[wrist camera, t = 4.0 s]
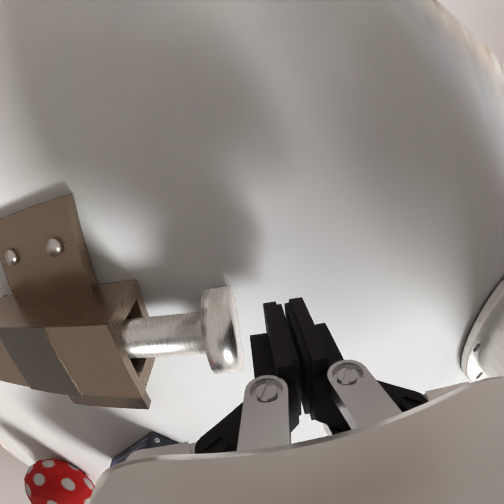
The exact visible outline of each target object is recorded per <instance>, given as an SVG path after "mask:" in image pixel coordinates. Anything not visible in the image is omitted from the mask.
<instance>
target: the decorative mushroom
mask: <svg viewBox="0 0 504 504" xmlns="http://www.w3.org/2000/svg"><path fill="white" fill-rule="evenodd" d="M24 480H25V490H26V494H27V496H28V498H29V500H30V501H31V503H32V504H89V501H90V498H91V495H92V492H93V489H94V487H95V486H94V484H93V483H92V481H91V480H90V479H89V478H88V477H87V476H86V475H85V474H84V473H83V472H82V471H81V470H80V469H78V468H76V467H75V466H73V465H71V464H69V463H68V462H65V461H60V460H56V459H46V460H39V461H37V462H36V463H35V464H33V465H32V466H30V467H29V469H28V471H27V473H26V476H25V479H24Z"/></svg>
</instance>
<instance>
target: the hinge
mask: <svg viewBox="0 0 504 504" xmlns="http://www.w3.org/2000/svg"><path fill="white" fill-rule="evenodd" d="M0 260H1V263H2V266H3V269H4V272H5V275H6V277H7V280H8V283H9V285H10V288H11V290H12V293H13V295H9V296H2V297H1V298H0V380H1V381H5V382H9V383H13V384H18V385H23V386H28V387H30V388H31V389H35V390H40V391H46V392H53V393H59V394H67V395H68V396H69V397H70V399H71V400H72V401H73V403H76V404H84V405H92V406H102V407H115V408H132V409H149V407H150V403H151V400H150V399H149V397H148V395H147V393H146V391H145V389H146V386H147V382H148V379H149V376H150V373H151V370H152V366H153V363H154V360H155V357H147V358H129V356H128V354H127V352H126V350H125V348H124V346H123V343H122V341H121V339H120V337H119V334H118V331H119V330H120V328H121V326H122V324H123V322H124V321H125V319H131V318H143V317H149V316H148V313H147V310H146V307H145V305H144V302H143V299H142V296H141V292H140V289H139V286H138V283H137V280H129V281H122V282H114V283H106V284H99V285H98V283H97V280H96V277H95V274H94V271H93V268H92V265H91V262H90V259H89V255H88V252H87V249H86V245H85V242H84V238H83V234H82V231H81V227H80V223H79V219H78V215H77V211H76V206H75V202H74V197H73V194H69V195H66V196H63V197H60V198H57V199H54V200H51V201H48V202H45V203H42V204H39V205H37V206H34V207H31V208H28V209H26V210H23V211H20V212H18V213H15V214H13V215H10V216H8V217H5V218H3V219H0Z"/></svg>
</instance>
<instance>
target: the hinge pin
mask: <svg viewBox="0 0 504 504" xmlns="http://www.w3.org/2000/svg"><path fill="white" fill-rule="evenodd" d="M118 334H119V337H120V339H121V341H122V343H123V346H124V348H125V350H126V352H127V354H128V356H129V358H147V357H167V356H182V355H194V354H205V353H206V354H207V358H208V361H209V364H210V366H211V369H212V371H213V372H214V373H215V374H218V373H228V372H237V371H243V351H242V342H241V334H240V326H239V320H238V314H237V308H236V303H235V298H234V294H233V291H232V288H231V286H227V287H219V288H212V289H205V290H203V292H202V296H201V312H192V313H183V314H174V315H164V316H154V317H143V318H131V319H125V321H124V322H123V324H122V326H121V328H120V330H119V331H118Z"/></svg>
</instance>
